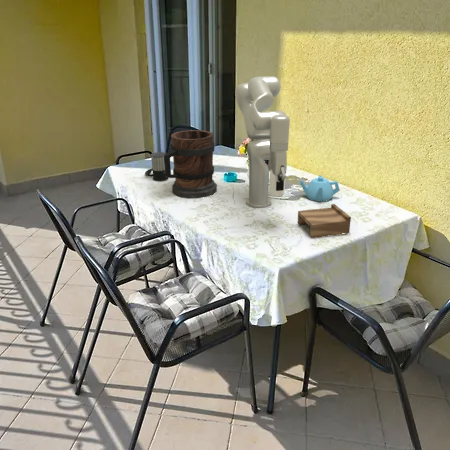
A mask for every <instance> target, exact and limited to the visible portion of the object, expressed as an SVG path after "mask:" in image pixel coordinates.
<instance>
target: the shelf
mask: <svg viewBox="0 0 450 450" xmlns="http://www.w3.org/2000/svg"><path fill="white" fill-rule="evenodd" d="M351 219H352V217H351V215H349V214H348V213H347V212H346V211H344V210H343V209H341V207H339V206H338V205H336V203H332V204H331V205H330V207H324V208H323V207H322V208H315V209H304V210H303V209H302V210H297V223H298V224H302V225H308V226H309V227H310V230H309V238H311V239H315V237H317V238H322V236H325V237H329V236H328V235H333V236H337V235H336V234H342V233H349V234H350V230H351V229H350V228H351ZM298 224H297V225H298ZM342 235H343V234H342Z"/></svg>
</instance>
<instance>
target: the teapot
mask: <svg viewBox="0 0 450 450" xmlns="http://www.w3.org/2000/svg"><path fill="white" fill-rule="evenodd" d="M299 183H300V186H301V187H302V190H303V192H304V194H305V196H306V197H307V198H308V200H310V201H313V200H316V201H315V202H327V201H326V200H328V201H330V200H331V199H333V197H334V195H336V194H338V193H339V192H340V191H341V190H340V186H339V182H338V180H335V181H334V180H333V181H330V180H328V179H327V178H324V177H323V176H322V175H318V177H317V178H316V177H315V178H313V179H312V180H310V181H309V183H308V185H306V183H305V182H304V180H299ZM333 186H334V187H335V188H333ZM329 199H330V200H329Z"/></svg>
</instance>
